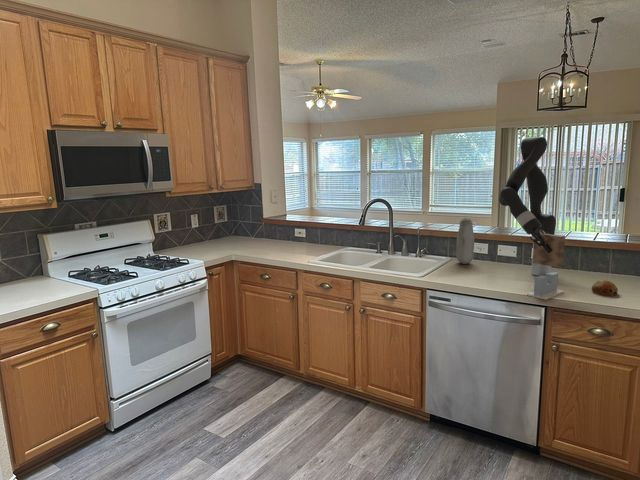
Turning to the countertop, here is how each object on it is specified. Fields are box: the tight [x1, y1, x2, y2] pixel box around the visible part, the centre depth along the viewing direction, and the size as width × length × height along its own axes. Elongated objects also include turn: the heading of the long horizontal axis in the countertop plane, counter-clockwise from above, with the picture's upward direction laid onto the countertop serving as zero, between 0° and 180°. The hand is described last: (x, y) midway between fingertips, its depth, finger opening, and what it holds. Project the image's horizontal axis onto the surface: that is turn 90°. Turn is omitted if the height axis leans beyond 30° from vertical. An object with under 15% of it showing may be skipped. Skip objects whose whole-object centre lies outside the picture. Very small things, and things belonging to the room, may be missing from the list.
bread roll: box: [591, 279, 619, 297], centre depth 200 cm, size 10×10×8 cm
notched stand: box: [526, 271, 565, 301], centre depth 200 cm, size 17×9×9 cm, turn 126°
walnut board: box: [532, 234, 566, 268], centre depth 197 cm, size 12×4×14 cm, turn 37°
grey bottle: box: [455, 217, 475, 265], centre depth 260 cm, size 10×10×28 cm
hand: (552, 251), depth 195 cm, fingers closed on walnut board, 3 cm apart
